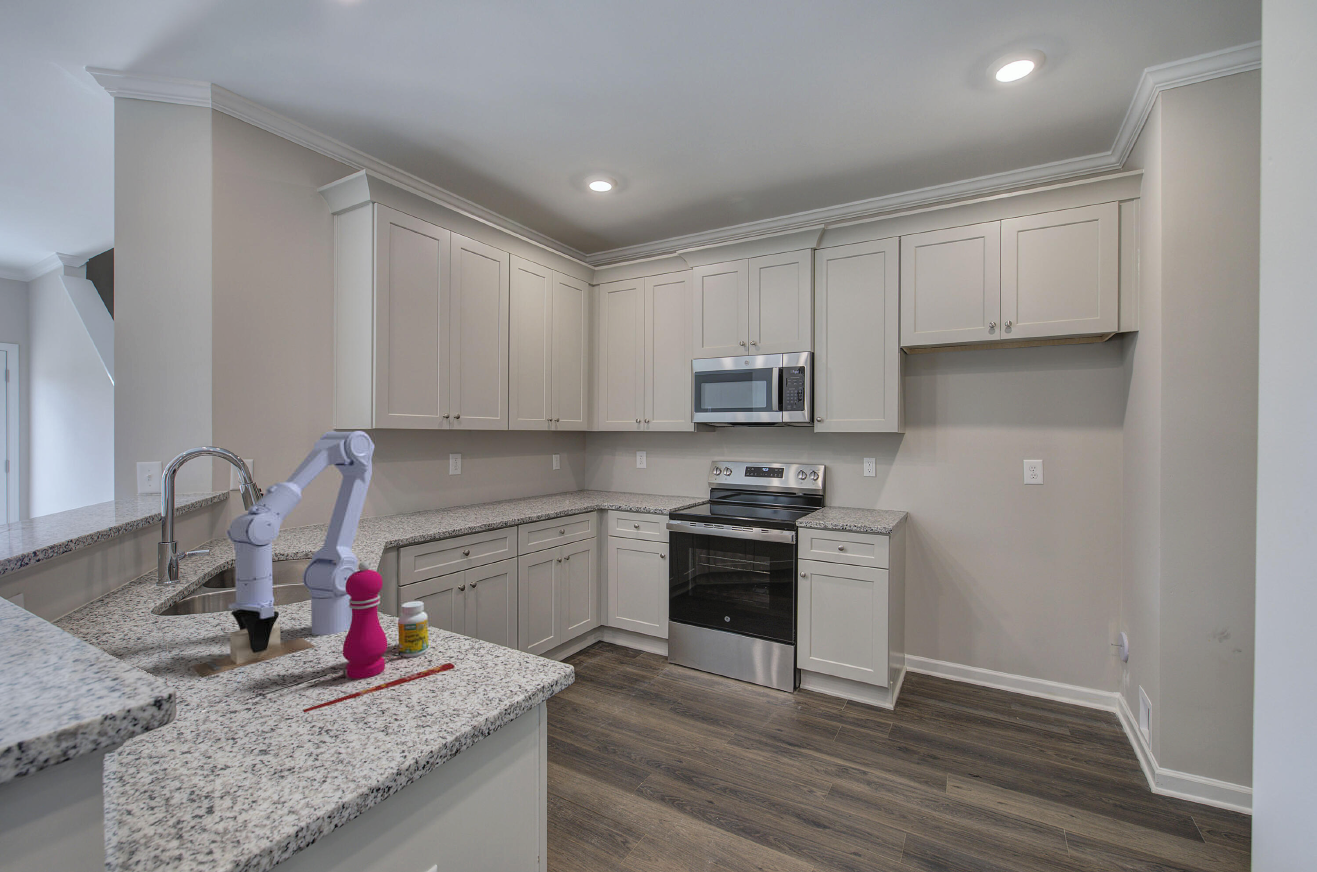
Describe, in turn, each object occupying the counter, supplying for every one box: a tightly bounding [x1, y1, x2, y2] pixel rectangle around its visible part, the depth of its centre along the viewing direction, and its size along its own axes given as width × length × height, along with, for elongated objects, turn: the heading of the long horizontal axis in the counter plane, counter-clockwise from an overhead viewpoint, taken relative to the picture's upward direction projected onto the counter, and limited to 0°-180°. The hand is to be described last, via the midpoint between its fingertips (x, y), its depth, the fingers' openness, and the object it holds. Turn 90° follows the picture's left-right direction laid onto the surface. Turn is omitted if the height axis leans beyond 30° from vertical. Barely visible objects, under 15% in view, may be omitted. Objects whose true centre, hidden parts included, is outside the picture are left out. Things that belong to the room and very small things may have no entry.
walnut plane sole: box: [190, 637, 317, 678], centre depth 109 cm, size 18×8×1 cm, turn 140°
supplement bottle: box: [397, 600, 429, 658], centre depth 113 cm, size 5×5×10 cm
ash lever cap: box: [229, 622, 281, 664], centre depth 109 cm, size 7×4×5 cm, turn 140°
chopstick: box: [302, 662, 455, 713], centre depth 98 cm, size 2×24×1 cm, turn 135°
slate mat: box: [246, 674, 328, 701], centre depth 101 cm, size 12×10×1 cm
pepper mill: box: [342, 561, 388, 680], centre depth 104 cm, size 7×7×20 cm
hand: (255, 648), depth 109 cm, fingers closed on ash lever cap, 4 cm apart
